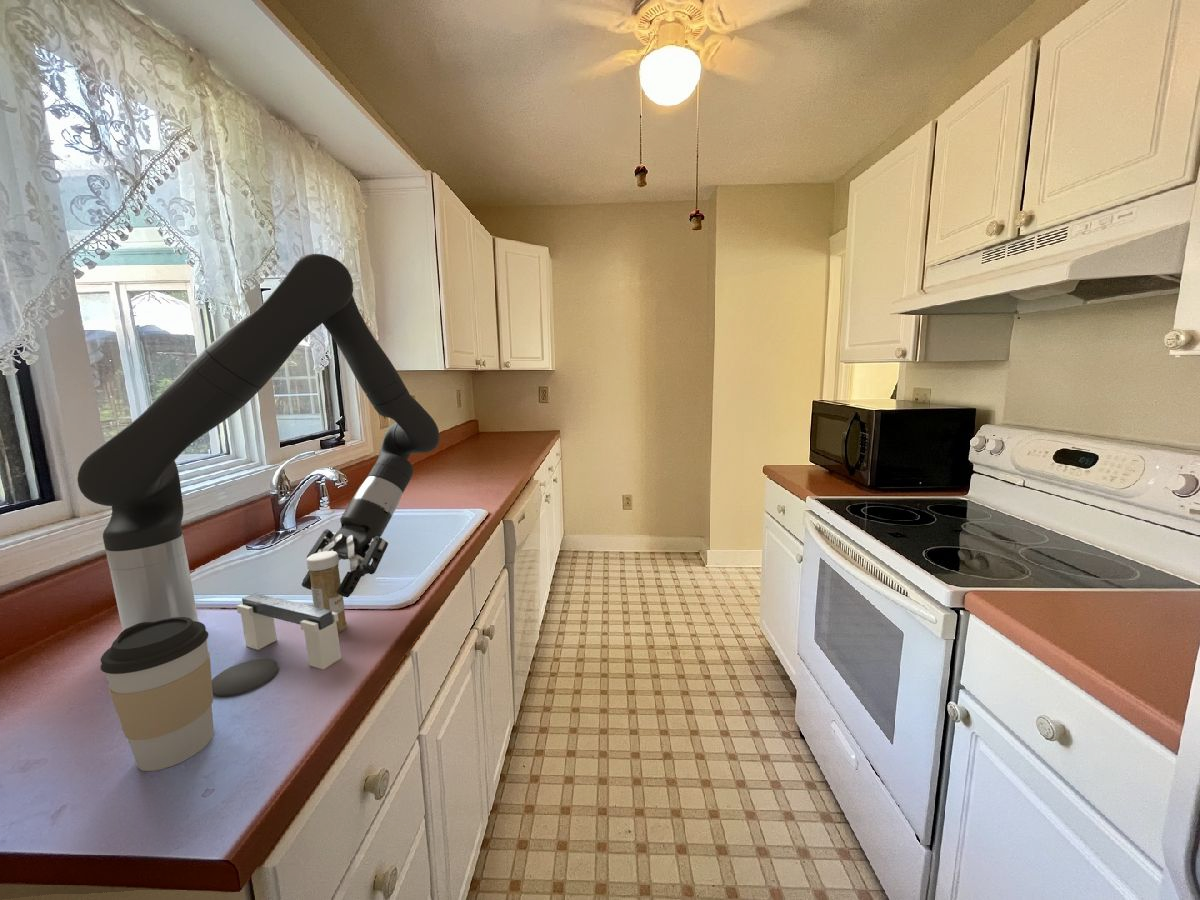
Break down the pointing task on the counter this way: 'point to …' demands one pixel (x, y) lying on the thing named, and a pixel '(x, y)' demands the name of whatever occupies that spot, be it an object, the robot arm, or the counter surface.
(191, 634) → the coffee cup
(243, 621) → the hurdle posts
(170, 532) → the robot arm
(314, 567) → the sprinkles bottle
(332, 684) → the counter surface
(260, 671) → the rubber mat
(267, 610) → the crossbar
